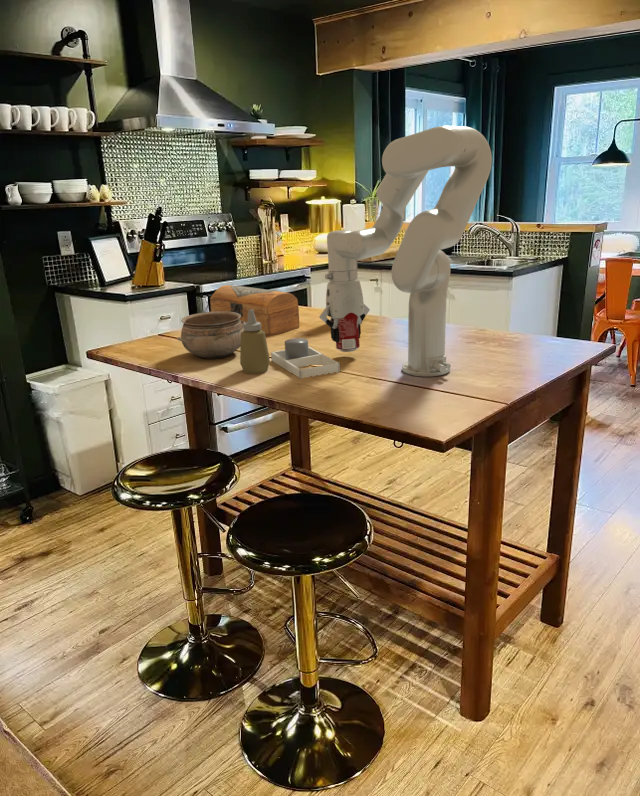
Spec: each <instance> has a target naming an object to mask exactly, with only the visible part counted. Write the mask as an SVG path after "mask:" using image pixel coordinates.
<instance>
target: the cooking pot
mask: <svg viewBox="0 0 640 796" xmlns="http://www.w3.org/2000/svg"><path fill="white" fill-rule="evenodd" d="M240 317H241V315H240V314H238V313H235V312H227V311H215V312H211V311H206V312H205V311H204V312H198V313H193V314H190V315H187V316H184V317H182V318H181V323H183V325H182V327H181V332H180V337H177V341H179V342H181V343H182V346H183V347H184V349H186V351H188V352H189V353H190V354H192V355H194V356H196V357H199V358H202V359H206V360H207V359H209V360H211V359H212V360H215V359H221V358H225V357H229V356H231V355H232V354H233V353H234V352H236V351H237V350H239V348H240V345H241V333H242V332H243V331H244V327H243V324H244V323H245V321H240V320H239V318H240ZM242 323H243V324H242Z"/></svg>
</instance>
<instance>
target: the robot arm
mask: <svg viewBox="0 0 640 796" xmlns="http://www.w3.org/2000/svg"><path fill="white" fill-rule="evenodd" d="M492 161H493V156H492V151H491V146H490V144H489V142H488V140H487V139H486V137H485V136H484V135H483V134H482V133H481V132H480V131H479V130H477V129H475V128H473V127H471V126H470V127H469V126H464V125H462V126H461V125H457V126H456V125H440V126H435V127H431V128H429V129H425V130H422V131H419V132H416V133H413V134H412V133H411V134H409V135H406V136H403V137H399V138H397V139H394V140H392V141H391V142H390V143H389V144H388V145H387V146H386V148H385V149H384V151H383V154H382V156H381V163H382V169H383V171H384V172H385V175H384V177H383V178H382V180H381V182H380V184H379V185H378V187H377V189H376V193H375V194H376V197H377V200H378V201H380V203H381V204H382V208H381V211H380V214H379V216H378V218H377V219H376V221H375V223H374V224H373V226H372V227H368V228H363V229H359V230H354V231H352V230H348V229H339V230H332V231H330V232H328V233H327V235H326V246H327V262H328V273H327V274H325V275H324V279H325V280H328V281H329V282H328V281H327V285H326V292H325V293H326V294H325V295H326V297H325V308H324V309H323V310H322V312H321V313H320V315H319V316H318V317H319V319H320V320H322V322H323V323H324V324H325V325H327V326H328V327H329V328H330V339H331V341H333V342H335V343H336V342H339V329H338V328H337V324H338V319H342V318H344V317H345V316H346V315H347V314H348V313H354V314H356V315H357V316H358V325H359V339H361V334H362V331H361V329H362V327H361V325H362V324H363V321H364V319H365V318H366V316H367V315H368V313H369V312H370V308H369V307H368V306H367V305H366V304H365V301H364V294H363V290H362V286H361V281H360V279H358V280H357V279H356V261H355V260H357V261H360V260H365V259H369V258H372V257H377V256H380V255H383V254H384V253H385V252H387V251H388V249H390V247H391V246H392V244H393V243H394V241H395V239H396V238H397V237H398V235H399V233H400V232H401V230H402V227H403V224H404V219H405V216H406V215H405V214H406V208H407V206H408V204H409V203H410V201H411V200H412V198H413V196H414V195H415V193H416V192H417V190H418V188H419V187H420V185H421V184H422V182H423V180H424V178H425V177H426V175H427V173H428V172H429V171H431V170H435V169H439V168H446V167H447V168H448V167H454V169H453V172H452V174H451V175H450V177H449V178H448V180H447V181H446V182H445V185H444V187H443V189H442V191H441V194H440V196H439V199H438V200H437V202H436V204H435V206H434V207H433V208H432V209H427V210H424V211H422V212H419V213H418V214H417V215H416V216H414V218H413V219H412V220H410V223H409V224H408V226H407V228H406V230H405V233H404V235H403V238H402V241H401V243H400V245H399V248H398V250H397V252H396V254H395V257H394V259H393V263H392V267H391V279H392V282H393V284H394V286H395V287H396V289H398V290H399V291H400V292H403V293H407V294H409V301H408V313H407V314H408V321H407V322H408V326H407V329H408V331H407V332H408V333H407V334H408V336H407V339H408V340H407V346H408V347H407V348H408V349H407V356H408V357H407V361H406V362H404V363H402V367H401V370H402V372H404V373H405V374H407V375H410V376H415V377H423V378H424V377H425V378H426V377H439V376H443V375H446V374H448V373H449V372H450V371H451V363H448V362H447V356H446V327H447V326H446V322H447V321H446V320H447V318H446V317H447V296H448V290H449V289H448V288H449V282H450V277H451V261H450V259H449V257H448V255H447V254H446V253H445V252H444V251H443V250H445V249H449V248H452V247H453V246H455V245H457V244H458V243H459V242H460V240H461V238H462V236H463V234H464V232H465V231H466V228H467V225H468V224H469V221H470V219H471V216H472V214H473V212H474V211H475V208H476V206H477V202H478V201H479V198H480V197H481V194H482V193H483V192H482V191H483V190H484V189H485V188H484V187H486V183H487V181H488V179H489V177H490V174H491V173H490V172H491V169H492V163H493V162H492ZM328 317H329V318H330V319H329V318H328Z"/></svg>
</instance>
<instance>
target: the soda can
mask: <svg viewBox="0 0 640 796" xmlns="http://www.w3.org/2000/svg"><path fill="white" fill-rule="evenodd" d="M337 328H338V329H339V342H335V348H336V350H338V351H340V352H343V353H350V352H351V353H352V352H354V351H357V350H358V349H359V348H360V338H359V325H358V316H357V315H356V314H354V313H348V314H347V315H346V316H345V317H344V318H342V319H338V324H337Z"/></svg>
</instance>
